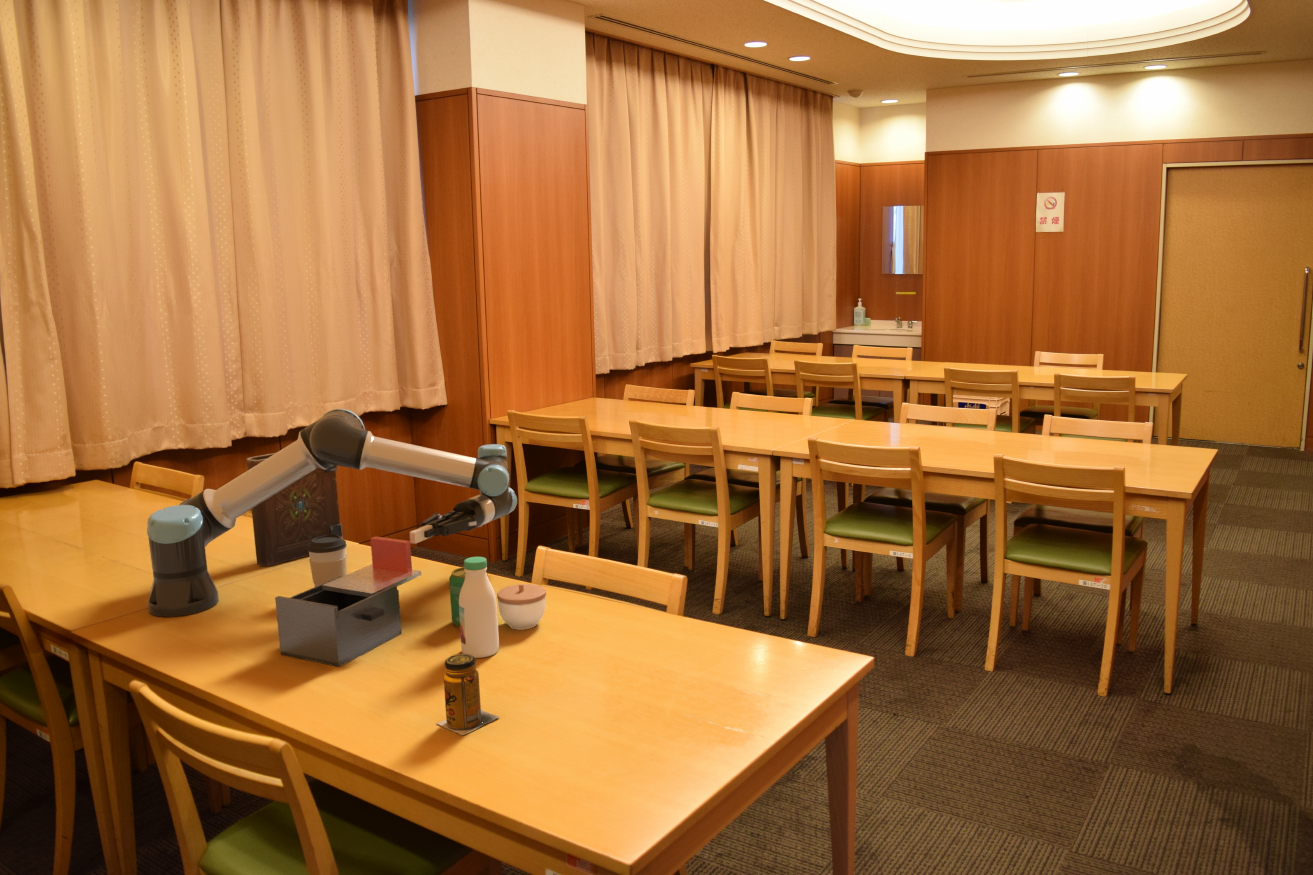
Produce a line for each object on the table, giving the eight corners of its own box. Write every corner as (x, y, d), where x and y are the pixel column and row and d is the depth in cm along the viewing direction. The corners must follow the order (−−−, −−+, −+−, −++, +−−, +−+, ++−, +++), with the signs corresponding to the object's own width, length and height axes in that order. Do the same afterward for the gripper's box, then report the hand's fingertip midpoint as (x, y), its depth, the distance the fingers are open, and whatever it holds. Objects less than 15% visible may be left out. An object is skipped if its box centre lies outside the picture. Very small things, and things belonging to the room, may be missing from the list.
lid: (373, 567, 225) (370, 534, 223) (421, 575, 219) (419, 541, 217) (322, 589, 211) (319, 554, 209) (372, 597, 205) (369, 561, 203)
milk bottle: (505, 646, 204) (501, 555, 200) (487, 660, 197) (482, 566, 193) (473, 642, 206) (468, 552, 203) (454, 656, 199) (448, 563, 196)
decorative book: (330, 543, 282) (321, 442, 276) (343, 548, 277) (335, 445, 272) (252, 563, 264) (241, 456, 259) (266, 568, 260) (255, 459, 254)
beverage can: (495, 618, 220) (492, 568, 218) (474, 631, 213) (471, 578, 211) (466, 614, 223) (463, 564, 221) (444, 626, 216) (441, 574, 214)
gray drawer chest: (337, 621, 220) (333, 568, 218) (410, 635, 211) (406, 580, 209) (272, 652, 203) (266, 595, 201) (348, 668, 194) (343, 609, 192)
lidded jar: (538, 635, 210) (536, 593, 208) (491, 632, 212) (489, 591, 210) (553, 617, 220) (551, 577, 218) (508, 614, 222) (506, 575, 220)
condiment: (436, 724, 170) (432, 660, 168) (474, 706, 177) (470, 644, 175) (462, 736, 166) (458, 670, 164) (500, 718, 172) (497, 654, 170)
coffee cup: (338, 603, 232) (333, 543, 229) (304, 601, 234) (298, 541, 231) (357, 591, 240) (352, 532, 238) (324, 589, 242) (319, 531, 240)
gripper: (495, 529, 244) (436, 556, 223) (453, 524, 250) (391, 550, 229) (493, 500, 243) (434, 524, 222) (451, 496, 248) (389, 519, 228)
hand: (412, 537), depth 225 cm, fingers closed
